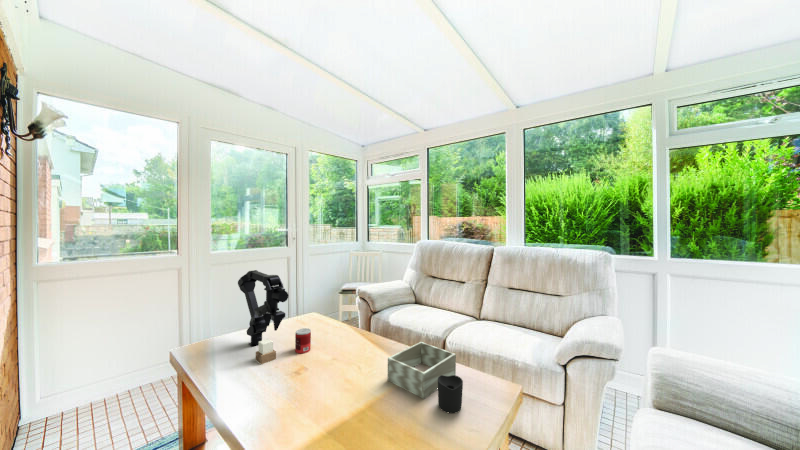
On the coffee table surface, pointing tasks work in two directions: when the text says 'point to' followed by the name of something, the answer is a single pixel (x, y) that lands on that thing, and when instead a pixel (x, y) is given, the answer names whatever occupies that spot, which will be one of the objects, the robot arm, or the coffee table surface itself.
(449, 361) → the toy crate
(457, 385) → the pen holder
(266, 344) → the cream cube
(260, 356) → the walnut base
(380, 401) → the coffee table surface
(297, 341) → the canned food
